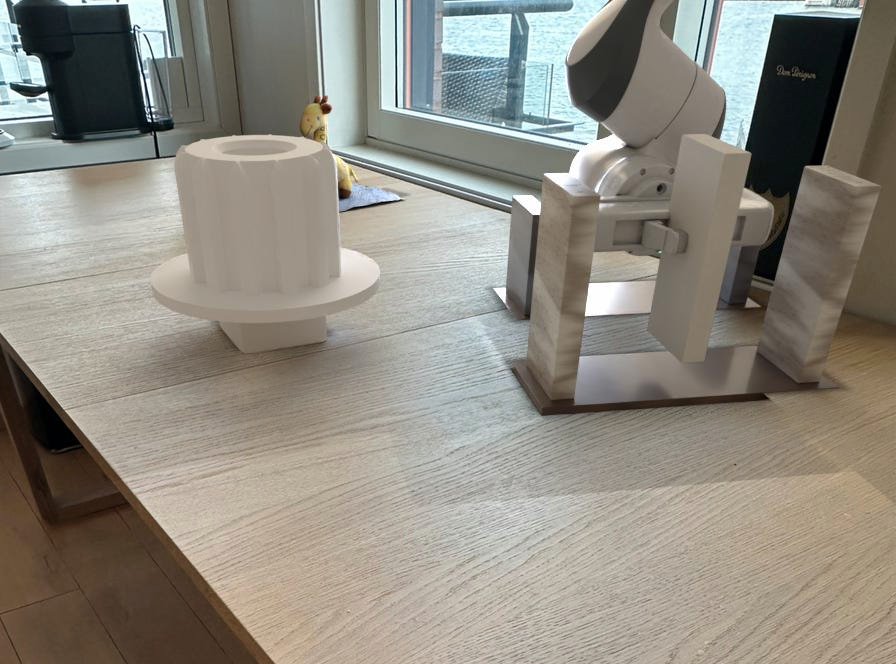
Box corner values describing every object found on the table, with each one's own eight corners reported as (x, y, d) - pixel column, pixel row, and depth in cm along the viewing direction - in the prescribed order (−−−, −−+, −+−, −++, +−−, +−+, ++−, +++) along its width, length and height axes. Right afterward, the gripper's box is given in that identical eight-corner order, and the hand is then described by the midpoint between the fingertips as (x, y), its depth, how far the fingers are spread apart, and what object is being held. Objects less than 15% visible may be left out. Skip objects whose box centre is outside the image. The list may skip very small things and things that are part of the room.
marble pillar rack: (778, 351, 96) (831, 161, 84) (836, 394, 87) (905, 189, 75) (509, 367, 91) (525, 170, 80) (541, 415, 82) (564, 201, 70)
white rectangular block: (668, 329, 90) (706, 133, 79) (704, 361, 84) (752, 153, 72) (646, 330, 90) (682, 134, 79) (681, 363, 83) (725, 153, 72)
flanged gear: (192, 392, 86) (157, 183, 74) (141, 315, 103) (106, 135, 91) (417, 354, 94) (419, 160, 82) (334, 288, 112) (326, 120, 100)
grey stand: (717, 283, 115) (739, 185, 107) (760, 313, 105) (787, 208, 98) (492, 294, 110) (498, 193, 103) (516, 326, 101) (525, 218, 94)
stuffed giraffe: (268, 196, 150) (263, 89, 140) (350, 186, 160) (351, 85, 149) (321, 218, 141) (320, 105, 131) (405, 206, 151) (410, 100, 140)
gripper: (553, 177, 87) (598, 210, 76) (740, 172, 90) (809, 203, 79) (546, 243, 91) (588, 284, 80) (726, 236, 94) (789, 274, 83)
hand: (699, 244), depth 80 cm, fingers closed on white rectangular block, 2 cm apart
